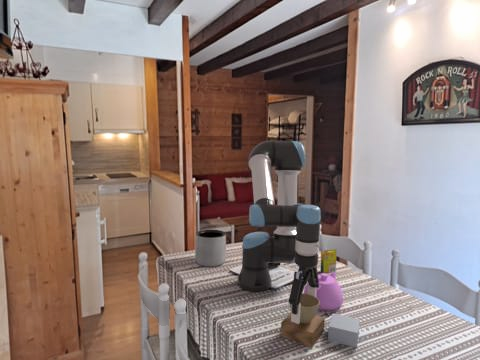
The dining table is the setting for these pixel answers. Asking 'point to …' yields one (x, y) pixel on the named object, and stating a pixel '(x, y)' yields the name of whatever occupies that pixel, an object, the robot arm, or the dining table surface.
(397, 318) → the dining table surface
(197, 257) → the planter
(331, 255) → the crayon box
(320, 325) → the walnut block
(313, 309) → the tan cup
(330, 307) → the teapot
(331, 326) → the slate block
